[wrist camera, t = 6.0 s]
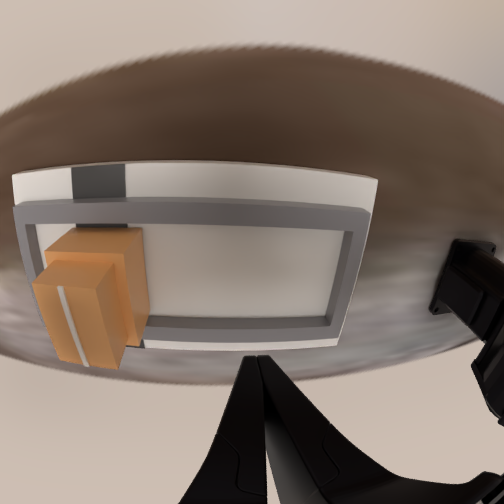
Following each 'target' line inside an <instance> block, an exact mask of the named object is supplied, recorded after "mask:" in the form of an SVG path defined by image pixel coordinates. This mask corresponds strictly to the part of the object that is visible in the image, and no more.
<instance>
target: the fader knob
mask: <svg viewBox="0 0 504 504" xmlns="http://www.w3.org/2000/svg"><path fill="white" fill-rule="evenodd" d="M44 254H45V259H46V263H47V268H46V269H45V270H44V271H43V272H42V273H41V274H40V275H39V276H38V277H37V278H36V279H35V280H34V281H33V282H32V283H31V284H32V287H33V290H34V294H35V297H36V300H37V303H38V306H39V309H40V312H41V314H42V317H43V320H44V323H45V325H46V328H47V330H48V333H49V335H50V338H51V340H52V343H53V345H54V347H55V350H56V352H57V354H58V356H59V359H60V360H62V361H67V362H72V363H78V364H83V365H84V366H85V367H89V366H95V367H102V368H109V369H116V370H118V368H119V365H120V362H121V359H122V356H123V353H124V350H125V347H126V345H131V346H140V342H141V339H142V335H143V332H144V329H145V326H146V322H147V319H148V316H149V313H150V304H149V297H148V289H147V280H146V271H145V260H144V249H143V235H142V228H71V229H70V230H69V231H68V232H66V233H65V234H64V235H63V236H61V237H60V238H59V239H58V240H57V241H55V242H54V243H53V244H52V245H51V246H49V247H48V248H47V249H46V250H45V251H44Z"/></svg>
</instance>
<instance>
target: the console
mask: <svg viewBox="0 0 504 504" xmlns="http://www.w3.org/2000/svg"><path fill="white" fill-rule="evenodd" d="M12 180H13V191H14V200H15V206H13V213H14V220H15V226H16V231H17V236H18V241H19V246H20V251H21V255H22V259H23V263H24V267H25V271H26V275H27V278H28V282H29V285H30V289H31V292H32V295H33V298H34V301H35V304H36V307H37V310H38V313H39V316H40V318H41V321H42V324H43V326H44V327H46V325H45V323H44V320H43V317H42V314H41V312H40V309H39V306H38V303H37V300H36V297H35V294H34V290H33V287H32V284H31V283H32V282H33V281H34V280H35V279H36V278H37V277H38V276H39V275H40V274H41V273H42V272H43V271H44V270H45V269H46V268H47V263H46V259H45V254H44V251H45V250H46V249H47V248H48V247H49V246H51V245H52V244H53V243H54V242H55V241H57V240H58V239H59V238H60V237H61V236H63V235H64V234H65V233H66V232H68V231H69V230H70V229H71V228H142V235H143V249H144V260H145V271H146V280H147V289H148V297H149V304H150V313H149V316H148V319H147V322H146V326H145V329H144V332H143V335H142V339H141V342H140V346H131V345H126V347H134V348H145V347H147V348H161V349H179V350H210V351H249V350H280V349H299V348H313V347H325V346H336V345H337V343H338V340H339V337H340V334H341V331H342V328H343V325H344V321H345V318H346V315H347V312H348V308H349V305H350V302H351V298H352V295H353V291H354V288H355V284H356V280H357V277H358V273H359V269H360V265H361V261H362V257H363V253H364V249H365V244H366V240H367V236H368V231H369V226H370V222H371V217H372V212H373V206H374V201H375V195H376V190H377V184H378V180H377V179H375V178H372V177H369V176H366V175H360V174H353V173H346V172H339V171H332V170H324V169H316V168H307V167H298V166H288V165H277V164H264V163H249V162H231V161H203V160H148V161H121V162H103V163H89V164H78V165H67V166H58V167H50V168H42V169H35V170H28V171H22V172H19V173H17V174H14V175H12Z"/></svg>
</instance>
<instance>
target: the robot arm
mask: <svg viewBox="0 0 504 504" xmlns="http://www.w3.org/2000/svg"><path fill="white" fill-rule="evenodd" d="M495 250H496V245H495V244H493V243H490V242H481V241H471V240H461V239H457V240H455V241H454V243H453V245H452V248H451V251H450V255H449V258H448V261H447V264H446V267H445V270H444V273H443V276H442V278H441V281H440V284H439V286H438V289H437V292H436V294H435V297H434V299H433V302H432V304H431V307H430V312H431V313H432V314H433V315H437V314H444V313H450V312H453V313H454V314H455V315H456V316H457V317H458V318H459V319H460V320H461V321H462V322H463V323H464V324H465V325H466V326H468V327H469V328H470V329H471V330H472V332H473V333H474V334H475V335H476V336H477V337H478V338H479V339H480V340H481V341H483V342H484V343H485V345H484V347H483V348H482V350H481V352H480V353H479V355H478V356H477V358H476V359H475V360H474V361H473V362H472V364H471V368H472V370H473V373H474V375H475V377H476V379H477V382H478V384H479V387H480V389H481V391H482V394H483V396H484V399H485V401H486V404H487V406H488V408H489V410H490V412H492V413H493V414H494V415H495V416H496V417H497V418H499V420H498V424H500V425H502V426H504V263H502V262H501V261H500V260H498V259H497V258H495V257H494V253H495ZM266 451H267V455H268V459H269V463H270V467H271V470H272V474H273V478H274V482H275V485H276V489H277V493H278V497H279V500H280V503H281V504H504V473H503V474H502V475H501V476H500V475H498V474H495V473H491V472H486V471H484V472H482V473H480V474H479V475H478V476H476V477H475V478H474V479H472V480H471V481H469V482H467V483H463V484H446V483H436V482H428V481H421V480H415V479H409V478H404V477H401V476H398V475H396V474H394V473H392V472H390V471H388V470H387V469H385V468H384V467H383V466H381V465H380V464H378V463H377V462H375V461H374V460H373V459H372V458H370V457H369V456H367V455H366V454H365V453H363V452H362V451H361V450H360V449H358V448H357V447H356V446H355V445H353V444H352V443H351V442H350V441H349V440H348V439H347V438H346V437H344V436H343V435H342V434H341V433H340V432H339V431H338V430H337V429H336V428H335V427H334V426H333V425H332V424H330V422H329V421H328V420H327V418H326V417H325V416H323V414H322V413H321V412H320V411H319V410H318V409H317V408H316V407H315V406H314V405H313V404H312V402H311V401H310V400H309V399H308V398H307V397H306V396H305V395H304V394H303V393H302V392H301V391H300V390H299V388H298V387H297V386H296V385H295V384H294V383H293V382H292V381H291V379H290V378H289V377H288V376H287V375H286V374H285V373H284V372H283V370H282V369H281V368H280V367H279V366H278V365H277V364H276V363H275V361H274V360H273V359H272V358H271V357H270V356H269V355H258V356H257V357H256V356H244V357H243V359H242V362H241V365H240V368H239V371H238V374H237V377H236V379H235V382H234V385H233V388H232V391H231V394H230V396H229V399H228V402H227V405H226V408H225V410H224V413H223V416H222V419H221V422H220V424H219V427H218V430H217V434H216V435H215V437H214V440H213V443H212V445H211V447H210V450H209V452H208V455H207V457H206V459H205V461H204V462H203V464H202V466H201V468H200V470H199V472H198V473H197V475H196V477H195V478H194V480H193V482H192V483H191V485H190V486H189V488H188V489H187V491H186V493H185V494H184V496H183V497H182V499H181V500H180V502H179V503H178V504H267V475H266Z"/></svg>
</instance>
